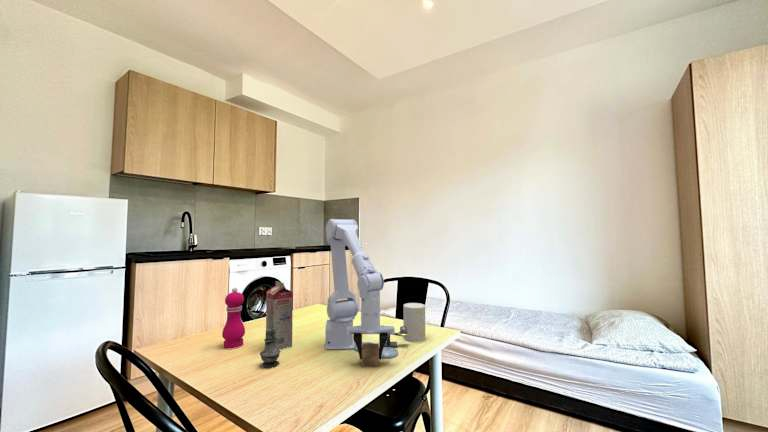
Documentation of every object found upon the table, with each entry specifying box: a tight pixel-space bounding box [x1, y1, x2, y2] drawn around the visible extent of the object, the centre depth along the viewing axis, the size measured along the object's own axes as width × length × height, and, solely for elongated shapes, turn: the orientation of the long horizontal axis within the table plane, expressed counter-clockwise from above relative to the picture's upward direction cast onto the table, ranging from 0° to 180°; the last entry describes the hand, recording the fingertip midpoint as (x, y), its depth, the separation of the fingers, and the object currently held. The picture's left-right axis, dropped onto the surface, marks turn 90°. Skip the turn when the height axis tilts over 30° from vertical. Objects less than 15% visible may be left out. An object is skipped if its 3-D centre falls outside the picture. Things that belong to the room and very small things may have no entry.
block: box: [361, 342, 380, 368], centre depth 94 cm, size 5×5×5 cm
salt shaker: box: [259, 324, 282, 369], centre depth 93 cm, size 6×6×12 cm
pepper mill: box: [221, 287, 246, 349], centre depth 109 cm, size 7×7×20 cm
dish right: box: [381, 347, 399, 359], centre depth 101 cm, size 8×8×1 cm
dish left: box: [353, 341, 372, 353], centre depth 106 cm, size 8×8×1 cm
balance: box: [384, 325, 409, 349], centre depth 108 cm, size 15×4×6 cm, turn 92°
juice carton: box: [265, 280, 294, 350], centre depth 109 cm, size 7×7×22 cm
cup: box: [402, 302, 426, 343], centre depth 116 cm, size 8×8×12 cm
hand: (370, 358), depth 94 cm, fingers closed on block, 5 cm apart
